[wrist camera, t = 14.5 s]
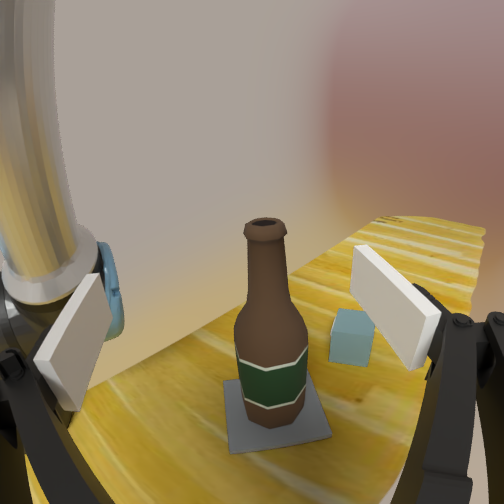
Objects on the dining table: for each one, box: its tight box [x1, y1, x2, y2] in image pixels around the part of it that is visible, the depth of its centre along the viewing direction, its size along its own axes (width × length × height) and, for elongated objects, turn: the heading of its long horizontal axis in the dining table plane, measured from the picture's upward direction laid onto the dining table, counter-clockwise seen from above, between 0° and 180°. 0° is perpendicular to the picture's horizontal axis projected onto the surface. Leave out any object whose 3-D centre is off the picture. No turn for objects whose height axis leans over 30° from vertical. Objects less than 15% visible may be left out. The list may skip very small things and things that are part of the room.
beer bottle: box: [234, 217, 308, 429], centre depth 31 cm, size 8×8×24 cm
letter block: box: [329, 308, 375, 367], centre depth 44 cm, size 6×6×6 cm
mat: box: [223, 369, 332, 454], centre depth 36 cm, size 12×12×1 cm
